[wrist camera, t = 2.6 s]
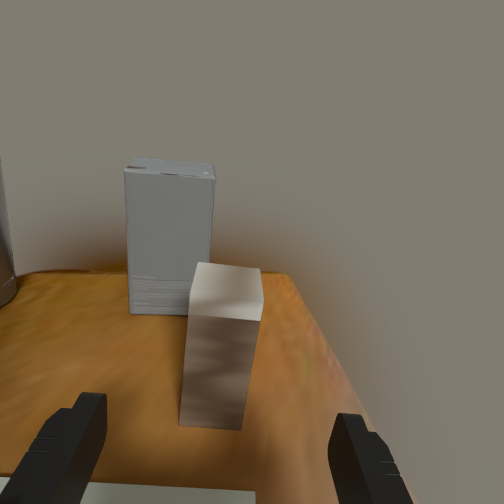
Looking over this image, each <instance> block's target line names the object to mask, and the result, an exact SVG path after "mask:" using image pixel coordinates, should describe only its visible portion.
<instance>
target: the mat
mask: <svg viewBox="0 0 504 504" xmlns="http://www.w3.org/2000/svg"><path fill="white" fill-rule="evenodd" d="M9 479H10V478H8V477H0V494H1V492H2V490H3V489H4V487H5V486H6V484H7V482H8V481H9ZM80 504H256V499H255V491H239V490H221V489H203V488H186V487H168V486H150V485H132V484H115V483H97V482H89V483H88V485H87V488H86V490H85V492H84V495H83V497H82V500H81V502H80Z"/></svg>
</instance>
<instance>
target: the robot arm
mask: <svg viewBox="0 0 504 504" xmlns="http://www.w3.org/2000/svg"><path fill="white" fill-rule="evenodd" d="M15 278H16V275H15V271H14V264H13V254H12V246H11V239H10V230H9V223H8V214H7V207H6V199H5V191H4V183H3V175H2V167H1V160H0V307H1V306H3V305H5V304H6V303H8V302H9V301H10V300H11V299H12V298H13V297H14V296H15V294H16V292H17V287H16V279H15ZM106 433H107V396H106V394H101V393H88V392H82V393H81V394H80V395H79V397H78V399H77V400H76V402H75V404H74V406H73V408H72V409H69V408H60V409H59V410H58V411H57V412H56V413H55V414H53V415H52V416H51V417H50V418H49V419H47V420H46V422H45V423H44V425H43V427H42V428H41V430H40V431H39V433H38V435H37V437H36V439H34V441H33V443H32V444H31V446H30V447H29V450H28V452H26V454H25V455H24V457H23V459H22V460H21V462H20V463H19V465H18V466H17V468H16V470H15V471H14V473H13V474H12V476H11V478H10V479H9V481H8V482H7V484H6V486H5V487H4V489H3V490H2V492H1V494H0V504H80V502H81V500H82V497H83V495H84V492H85V490H86V488H87V485H88V483H89V480H90V478H91V475H92V473H93V470H94V468H95V465H96V463H97V460H98V458H99V456H100V453H101V451H102V448H103V445H104V442H105V438H106ZM328 461H329V466H330V470H331V474H332V477H333V481H334V485H335V489H336V493H337V497H338V501H339V504H413V502H412V499H411V497H410V495H409V493H408V491H407V488H406V486H405V484H404V482H403V479H402V477H400V473H399V470H398V468H397V466H396V464H394V459H393V457H392V455H391V453H390V450H389V448H388V446H387V445H386V444H385V442H384V441H383V440H382V439H381V438H380V437H379V435H378V434H377V433H376V432H368V430H367V427H366V425H365V422H364V420H363V418H362V416H361V415H359V414H346V413H338V415H337V417H336V420H335V423H334V427H333V430H332V433H331V437H330V440H329V444H328Z"/></svg>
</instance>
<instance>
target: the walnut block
mask: <svg viewBox="0 0 504 504" xmlns="http://www.w3.org/2000/svg"><path fill="white" fill-rule="evenodd" d="M263 303H264V297H263V290H262V282H261V275H260V269H256V268H247V267H237V266H229V265H221V264H212V263H203V262H198V264H197V268H196V272H195V276H194V280H193V283H192V287H191V291H190V300H189V312H188V323H187V335H186V347H185V358H184V370H183V382H182V394H181V405H180V417H179V426H187V427H201V428H215V429H229V430H241V426H242V421H243V415H244V409H245V404H246V398H247V393H248V387H249V381H250V376H251V370H252V365H253V359H254V353H255V348H256V342H257V337H258V331H259V325H260V320H261V314H262V309H263Z"/></svg>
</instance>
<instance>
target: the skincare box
mask: <svg viewBox="0 0 504 504" xmlns="http://www.w3.org/2000/svg"><path fill="white" fill-rule="evenodd" d="M124 183H125V203H126V204H125V205H126V229H127V255H128V256H127V258H128V287H129V309H130V314H144V315H188V312H189V300H190V291H191V287H192V283H193V280H194V276H195V272H196V268H197V264H198V262H203V263H209V260H210V244H211V231H212V218H213V204H214V191H215V183H216V176H215V170H214V165H213V164H211V163H198V162H185V161H172V160H163V159H153V158H144V157H137V158H136V159H135V160H134V161H133V162H132V163H131V164H130V165H129V166H128V167H127V168H126V169H125V170H124Z"/></svg>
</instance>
